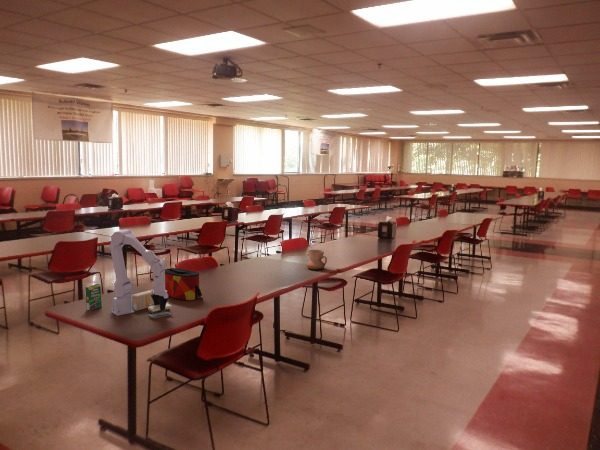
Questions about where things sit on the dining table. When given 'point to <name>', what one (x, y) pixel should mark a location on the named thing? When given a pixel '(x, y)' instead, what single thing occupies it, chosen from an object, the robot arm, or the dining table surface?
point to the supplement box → (142, 300)
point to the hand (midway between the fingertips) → (159, 308)
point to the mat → (159, 314)
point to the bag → (182, 284)
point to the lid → (157, 307)
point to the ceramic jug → (316, 259)
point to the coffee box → (93, 297)
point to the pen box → (156, 311)
